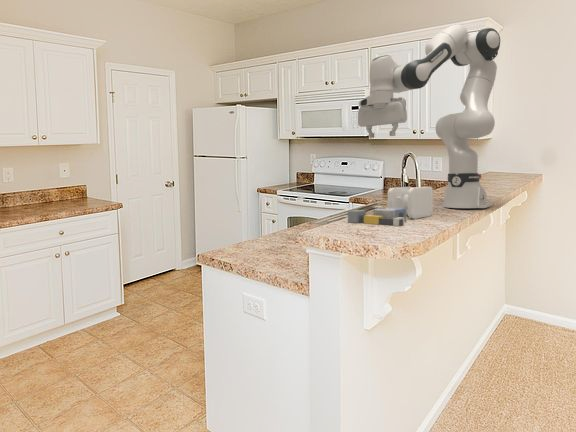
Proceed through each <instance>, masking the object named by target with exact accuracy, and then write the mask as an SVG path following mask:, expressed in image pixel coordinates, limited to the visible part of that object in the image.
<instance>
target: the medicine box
mask: <svg viewBox="0 0 576 432" xmlns="http://www.w3.org/2000/svg"><path fill="white" fill-rule="evenodd" d="M372 215H374V216H383V218H391V219H393V218H398V217H404V222H406V221H407V215H406V209H394V208H388V207H385V208H383V207H382V208H377V209H373V214H372Z"/></svg>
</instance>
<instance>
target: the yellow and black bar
mask: <svg viewBox="0 0 576 432" xmlns="http://www.w3.org/2000/svg"><path fill="white" fill-rule="evenodd" d="M359 224H367V225H368V224H370V225H382V226H383V225H384V226H393V227H402V226H405V221H404V217H398V218H393V219H391V218H383V216H374V215H373V214H372V215H371V214H366V215H365V216H364V217H361V222H360V223H359Z"/></svg>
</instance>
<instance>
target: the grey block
mask: <svg viewBox="0 0 576 432" xmlns="http://www.w3.org/2000/svg"><path fill="white" fill-rule="evenodd" d="M365 215H367V212H366V210H364V209H363V210H361V209H355V210H348V211H347V223H351V224H361V223H360V222H361V217H364V216H365Z"/></svg>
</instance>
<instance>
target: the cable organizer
mask: <svg viewBox="0 0 576 432" xmlns="http://www.w3.org/2000/svg"><path fill="white" fill-rule="evenodd" d="M387 208H394V209H406V216H407V217H408V218H410V219H412V220H417V219H420V218H426V217H431V216H432V215H433V214H434V189H433V187H432V186H416V187H413V186H401V187H398V186H397V187H390V188H388V190H387Z"/></svg>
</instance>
